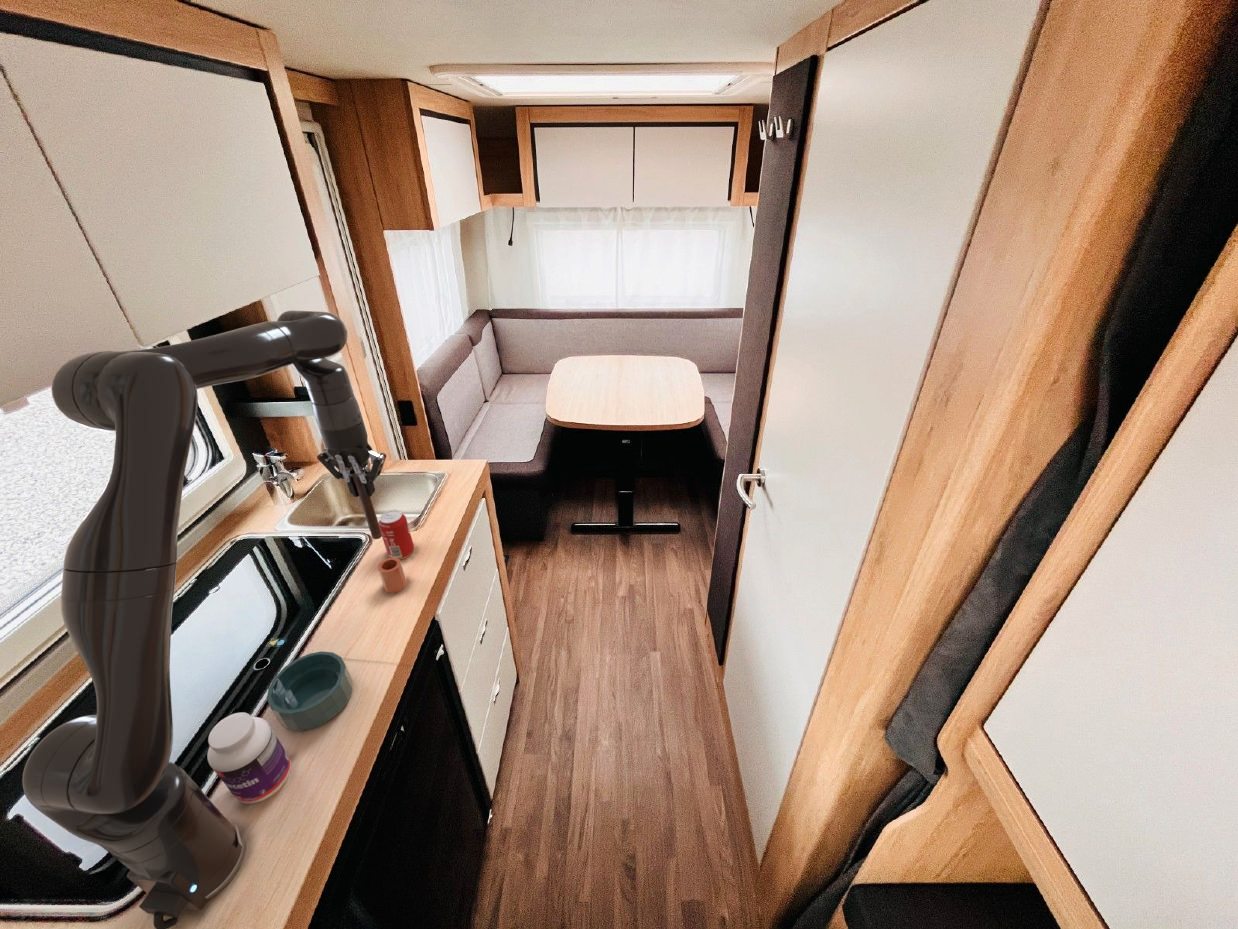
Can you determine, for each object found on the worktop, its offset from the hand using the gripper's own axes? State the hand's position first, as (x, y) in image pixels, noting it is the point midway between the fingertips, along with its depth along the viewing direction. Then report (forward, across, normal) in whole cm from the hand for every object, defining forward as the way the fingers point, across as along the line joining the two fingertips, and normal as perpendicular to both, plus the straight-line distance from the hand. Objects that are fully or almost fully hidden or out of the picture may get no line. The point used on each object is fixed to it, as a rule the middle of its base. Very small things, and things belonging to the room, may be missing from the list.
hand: (364, 494), depth 104 cm
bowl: (+27, -1, -28) cm, 39 cm away
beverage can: (+27, -4, +12) cm, 30 cm away
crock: (+27, 0, +1) cm, 27 cm away
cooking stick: (+11, 0, 0) cm, 11 cm away
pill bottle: (+28, -1, -42) cm, 50 cm away
